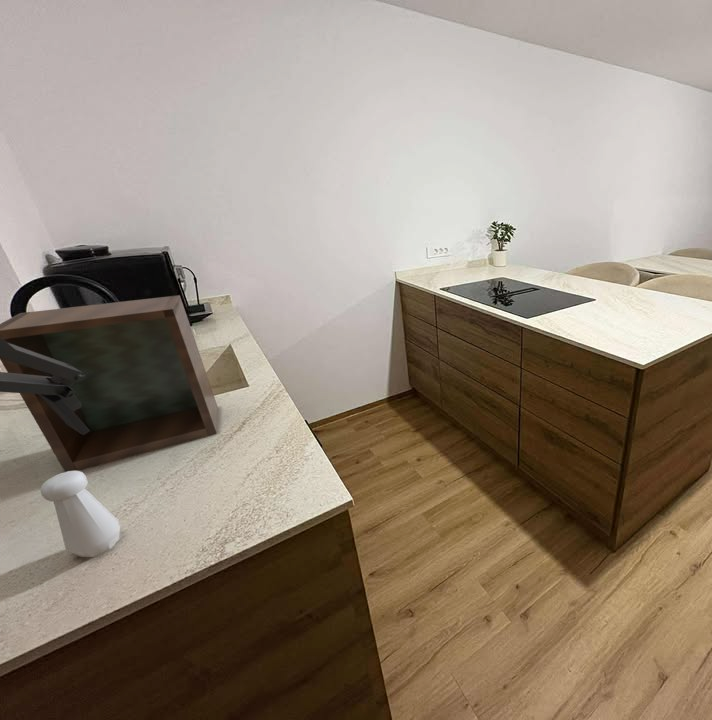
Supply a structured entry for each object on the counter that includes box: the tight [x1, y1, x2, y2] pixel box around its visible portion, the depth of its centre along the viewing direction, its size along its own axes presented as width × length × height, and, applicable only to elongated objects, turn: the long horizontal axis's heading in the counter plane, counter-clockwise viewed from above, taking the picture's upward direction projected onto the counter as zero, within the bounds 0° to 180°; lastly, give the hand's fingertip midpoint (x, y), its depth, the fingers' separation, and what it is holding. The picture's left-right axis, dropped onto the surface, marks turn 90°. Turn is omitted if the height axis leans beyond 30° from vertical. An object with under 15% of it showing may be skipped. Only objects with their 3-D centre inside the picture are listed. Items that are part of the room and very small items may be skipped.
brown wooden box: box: [0, 294, 219, 472], centre depth 76 cm, size 24×13×28 cm, turn 122°
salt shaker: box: [40, 470, 121, 558], centre depth 53 cm, size 6×6×13 cm
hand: (8, 471), depth 42 cm, fingers open, 13 cm apart
